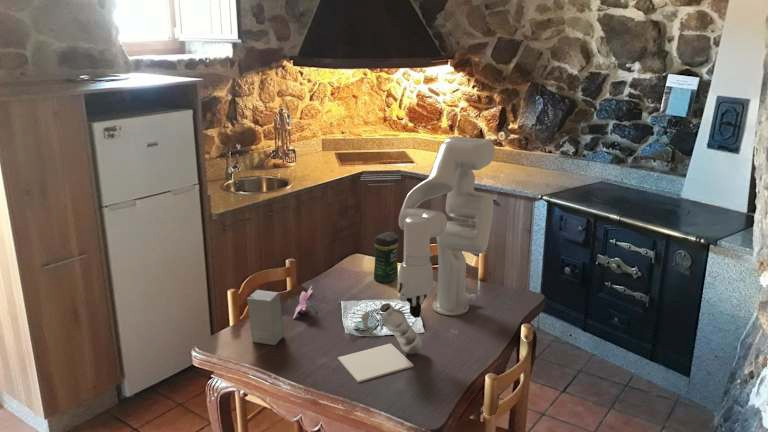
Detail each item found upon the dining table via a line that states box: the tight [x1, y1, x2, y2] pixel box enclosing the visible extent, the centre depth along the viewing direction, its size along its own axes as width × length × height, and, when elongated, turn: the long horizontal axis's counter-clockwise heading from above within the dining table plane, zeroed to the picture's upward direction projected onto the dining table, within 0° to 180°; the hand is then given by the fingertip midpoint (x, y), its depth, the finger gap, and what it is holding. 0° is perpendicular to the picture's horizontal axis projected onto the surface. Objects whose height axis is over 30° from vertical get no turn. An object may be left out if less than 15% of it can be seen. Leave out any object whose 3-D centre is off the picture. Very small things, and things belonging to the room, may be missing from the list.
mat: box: [337, 342, 414, 383], centre depth 181 cm, size 18×14×1 cm
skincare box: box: [246, 289, 285, 346], centre depth 191 cm, size 8×7×16 cm
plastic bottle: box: [379, 302, 423, 355], centre depth 181 cm, size 6×7×20 cm
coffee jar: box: [373, 231, 400, 283], centre depth 237 cm, size 10×8×19 cm
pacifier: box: [352, 311, 376, 331], centre depth 201 cm, size 7×6×6 cm
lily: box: [292, 285, 318, 319], centre depth 210 cm, size 12×12×10 cm
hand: (415, 315), depth 183 cm, fingers closed
